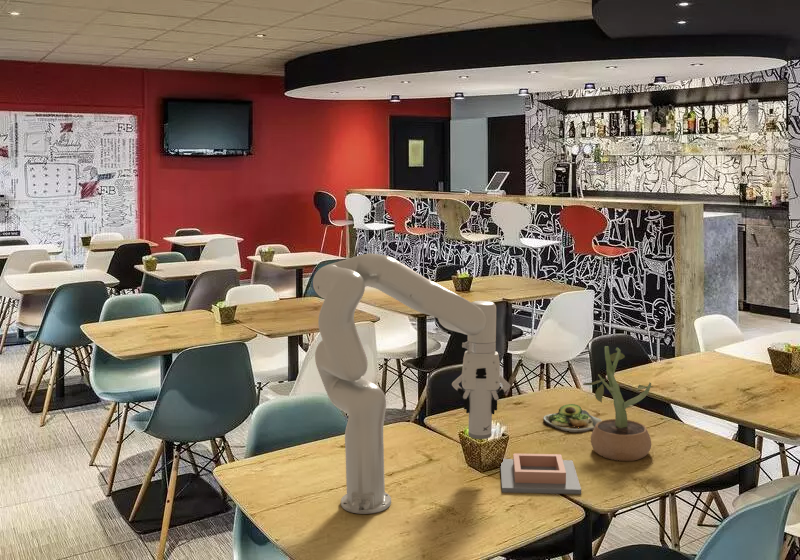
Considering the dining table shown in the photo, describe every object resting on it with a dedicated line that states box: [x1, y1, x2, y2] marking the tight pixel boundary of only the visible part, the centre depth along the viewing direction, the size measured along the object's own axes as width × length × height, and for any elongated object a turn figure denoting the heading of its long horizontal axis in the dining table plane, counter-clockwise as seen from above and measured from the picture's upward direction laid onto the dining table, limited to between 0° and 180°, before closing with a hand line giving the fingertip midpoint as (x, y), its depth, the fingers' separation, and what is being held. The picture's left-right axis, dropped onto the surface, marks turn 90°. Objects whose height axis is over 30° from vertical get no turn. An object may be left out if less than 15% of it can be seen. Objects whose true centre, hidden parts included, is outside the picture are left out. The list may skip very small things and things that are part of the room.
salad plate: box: [542, 403, 603, 433], centre depth 252 cm, size 19×18×5 cm
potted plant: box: [582, 345, 654, 462], centre depth 228 cm, size 22×18×30 cm
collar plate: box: [500, 453, 582, 495], centre depth 210 cm, size 20×20×4 cm
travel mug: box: [467, 368, 493, 440], centre depth 211 cm, size 6×7×20 cm
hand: (480, 411), depth 212 cm, fingers closed on travel mug, 6 cm apart
